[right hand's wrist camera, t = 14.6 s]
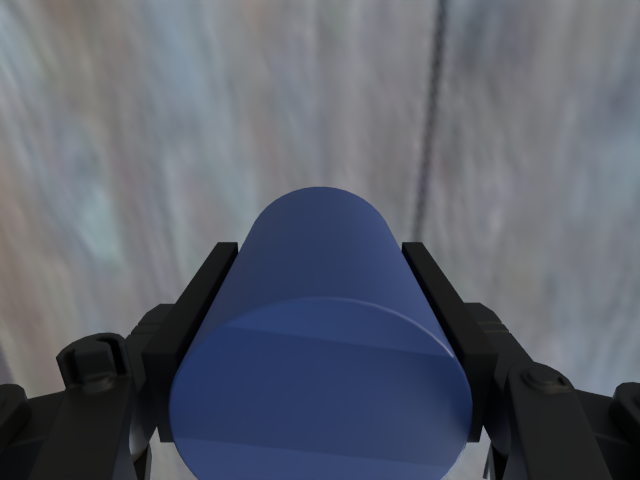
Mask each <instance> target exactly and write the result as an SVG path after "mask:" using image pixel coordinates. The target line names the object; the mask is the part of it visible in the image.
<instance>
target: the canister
mask: <svg viewBox="0 0 640 480" xmlns="http://www.w3.org/2000/svg"><path fill="white" fill-rule="evenodd" d="M472 405H473V403H472V397H471V391H470V386H469V383H468V381H467V378H466V375H465V372H464V370H463V368H462V366H461V365H460V363H459V361H458V359H457V357H456V355H455V353H454V351H453V349H452V347H451V345H450V344H449V342H448V340H447V338H446V336H445V334H444V332H443V330H442V328H441V326H440V324H439V323H438V321H437V319H436V317H435V315H434V313H433V311H432V309H431V307H430V305H429V303H428V302H427V300H426V298H425V296H424V294H423V292H422V290H421V288H420V286H419V284H418V282H417V281H416V279H415V277H414V275H413V273H412V271H411V269H410V267H409V265H408V263H407V261H406V260H405V258H404V256H403V254H402V252H401V250H400V248H399V246H398V244H397V242H396V240H395V239H394V237H393V235H392V233H391V231H390V229H389V227H388V225H387V224H386V222H385V220H384V219H383V217H382V216H381V215H380V213H379V212H378V211H377V210H376V209H375V208H374V207H373V206H372V205H370V204H369V203H368V202H367V201H365V200H364V199H362V198H360V197H359V196H357V195H355V194H352V193H350V192H347V191H345V190H341V189H337V188H330V187H310V188H303V189H300V190H296V191H293V192H290V193H288V194H286V195H284V196H282V197H280V198H278V199H277V200H275V201H274V202H273V203H271V204H270V205H269V206H267V207H266V209H265V210H264V211H263V212H262V213H261V214H260V215H259V217H258V218H257V219H256V221H255V222H254V224H253V226H252V228H251V230H250V232H249V234H248V236H247V238H246V240H245V241H244V243H243V245H242V247H241V249H240V251H239V253H238V255H237V257H236V259H235V261H234V263H233V265H232V267H231V268H230V270H229V272H228V274H227V276H226V278H225V280H224V282H223V284H222V286H221V288H220V290H219V292H218V293H217V295H216V297H215V299H214V301H213V303H212V305H211V307H210V309H209V311H208V313H207V315H206V317H205V318H204V320H203V322H202V324H201V326H200V328H199V330H198V332H197V334H196V336H195V338H194V340H193V342H192V343H191V345H190V347H189V349H188V351H187V353H186V355H185V357H184V359H183V361H182V363H181V365H180V367H179V368H178V370H177V372H176V374H175V377H174V380H173V383H172V386H171V389H170V395H169V403H168V414H169V426H170V430H171V435H172V438H173V441H174V443H175V446H176V448H177V451H178V453H179V454H180V456H181V458H182V459H183V461H184V463H185V464H186V466H187V467H188V468H189V469H190V471H191V472H192V473H193V474H194V476H195V477H196V478H197V479H199V480H442V479H443V478H444V477H445V476H446V475H447V474H448V473H449V472H450V470H451V469H452V468H453V466H454V465H455V464H456V462H457V461H458V459H459V457H460V456H461V454H462V452H463V450H464V448H465V445H466V443H467V440H468V437H469V435H470V429H471V424H472Z"/></svg>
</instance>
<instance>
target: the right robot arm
mask: <svg viewBox="0 0 640 480" xmlns="http://www.w3.org/2000/svg"><path fill="white" fill-rule="evenodd" d="M402 254H403V256H404V258H405V260H406V261H407V263H408V265H409V267H410V269H411V271H412V273H413V275H414V277H415V279H416V281H417V282H418V284H419V286H420V288H421V290H422V292H423V294H424V296H425V298H426V300H427V302H428V303H429V305H430V307H431V309H432V311H433V313H434V315H435V317H436V319H437V321H438V323H439V324H440V326H441V328H442V330H443V332H444V334H445V336H446V338H447V340H448V342H449V344H450V345H451V347H452V349H453V351H454V353H455V355H456V357H457V359H458V361H459V363H460V365H461V366H462V368H463V370H464V372H465V375H466V378H467V381H468V383H469V386H470V391H471V397H472V403H473V405H472V424H471V429H470V435H469V437H468V440H467V442H479V441H480V436H481V432H482V427H483V426H484V428H485V430H486V432H487V434H488V436H489V438H490V440H491V443H490V447H489V452H488V456H487V460H486V464H485V468H484V474H483V478H484V479H488V477H489V473H490V480H640V383H635V382H628V383H622V384H620V385H619V386H618V387H616V390H615V393H614V395H613V398H612V397H608V396H603V395H599V394H594V393H589V392H585V391H581V390H577V389H575V388H574V387H573V385H572V384H571V382H570V381H569V380H568V379H567V378H566V377H565V376H564V375H562V374H561V373H560V372H559V371H557V370H555V369H553V368H551V367H549V366H547V365H544V364H540V363H537V362H534V361H533V360H532V359H531V358H530V356H529V355H528V354H527V353H526V351H525V350H524V349H523V348H522V346H521V345H520V344H519V343H518V342H517V340H516V339H515V338H514V337H513V335H512V334H511V333H509V330H508V329H507V328H506V327H505V325H504V324H502V322H501V320H500V319H499V318H498V317H497V315H496V314H495V313H494V312H493V311H492V310H490V309H489V308H487V307H486V306H484V305H482V304H481V303H464V302H463V301H462V299H461V298H460V296H459V295H458V294H457V292H456V291H455V289H454V288H453V286H452V285H451V284H450V282H449V281H448V279H447V278H446V276H445V275H444V273H443V272H442V271H441V269H440V268H439V266H438V265H437V263H436V262H435V261H434V259H433V258H432V256H431V255H430V253H429V252H428V250H427V249H426V248H425V246H424V245H423V243H422V242H402ZM237 255H238V243H237V242H218V243H217V244H216V246H215V247H214V249H213V250H212V252H211V253H210V254H209V256H208V257H207V259H206V260H205V262H204V263H203V265H202V266H201V267H200V269H199V270H198V272H197V273H196V275H195V276H194V277H193V279H192V280H191V282H190V283H189V285H188V286H187V287H186V289H185V290H184V292H183V293H182V295H181V296H180V298H179V299H178V300H177V302H176V303H175V304H159V305H158V306H156V307H155V308H153V309H152V310H150V311H149V312H147V313H146V314H145V315H144V317H143V318H142V319H141V320H140V322H139V323H138V326H136V327H135V328H134V329H133V330H132V332H131V335H128V337H127V338H126V339H124V338H123V337H122V336H121V335H119V334H115V333H98V334H94V335H90V336H86V337H84V338H81V339H79V340H77V341H75V342H72V343H71V344H70V345H68V346H67V347H65V348H64V349H62V351H61V352H60V353H59V354H58V355H57V357H56V360H57V363H58V366H59V369H60V372H61V375H62V378H63V381H64V384H65V387H66V389H65V391H61V392H57V393H53V394H48V395H44V396H39V397H35V398H30V399H27V396H26V393H25V391H24V389H23V388H22V387H20V386H19V385H16V384H3V385H0V480H150V471H151V461H152V453H151V447H150V443H149V441H150V439H151V437H152V435H153V433H154V431H155V429H156V427H157V428H158V433H159V437H160V442H174V441H173V438H172V435H171V430H170V426H169V414H168V403H169V395H170V389H171V386H172V383H173V380H174V377H175V374H176V372H177V370H178V368H179V367H180V365H181V363H182V361H183V359H184V357H185V355H186V353H187V351H188V349H189V347H190V345H191V343H192V342H193V340H194V338H195V336H196V334H197V332H198V330H199V328H200V326H201V324H202V322H203V320H204V318H205V317H206V315H207V313H208V311H209V309H210V307H211V305H212V303H213V301H214V299H215V297H216V295H217V293H218V292H219V290H220V288H221V286H222V284H223V282H224V280H225V278H226V276H227V274H228V272H229V270H230V268H231V267H232V265H233V263H234V261H235V259H236V257H237Z"/></svg>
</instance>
